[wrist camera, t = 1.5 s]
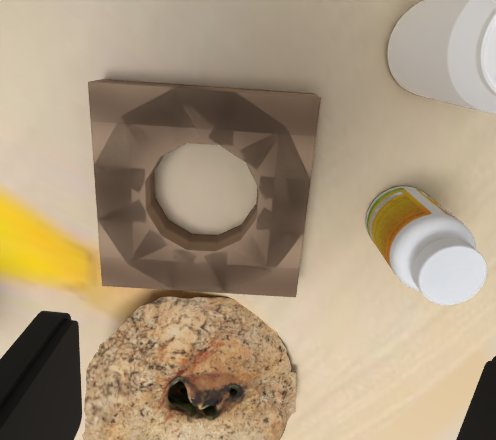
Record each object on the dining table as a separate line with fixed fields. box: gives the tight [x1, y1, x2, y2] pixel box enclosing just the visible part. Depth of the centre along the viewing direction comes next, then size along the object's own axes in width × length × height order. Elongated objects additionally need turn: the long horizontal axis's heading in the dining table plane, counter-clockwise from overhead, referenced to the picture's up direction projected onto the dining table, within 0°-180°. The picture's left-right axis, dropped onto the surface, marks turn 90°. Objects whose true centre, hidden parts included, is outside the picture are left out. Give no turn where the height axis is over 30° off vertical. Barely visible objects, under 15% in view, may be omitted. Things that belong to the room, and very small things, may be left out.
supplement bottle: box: [366, 186, 487, 305], centre depth 29 cm, size 5×5×10 cm
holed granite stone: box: [82, 297, 296, 440], centre depth 37 cm, size 18×14×8 cm
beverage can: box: [388, 0, 496, 114], centre depth 24 cm, size 6×6×12 cm
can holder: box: [88, 79, 321, 297], centre depth 31 cm, size 15×15×3 cm
